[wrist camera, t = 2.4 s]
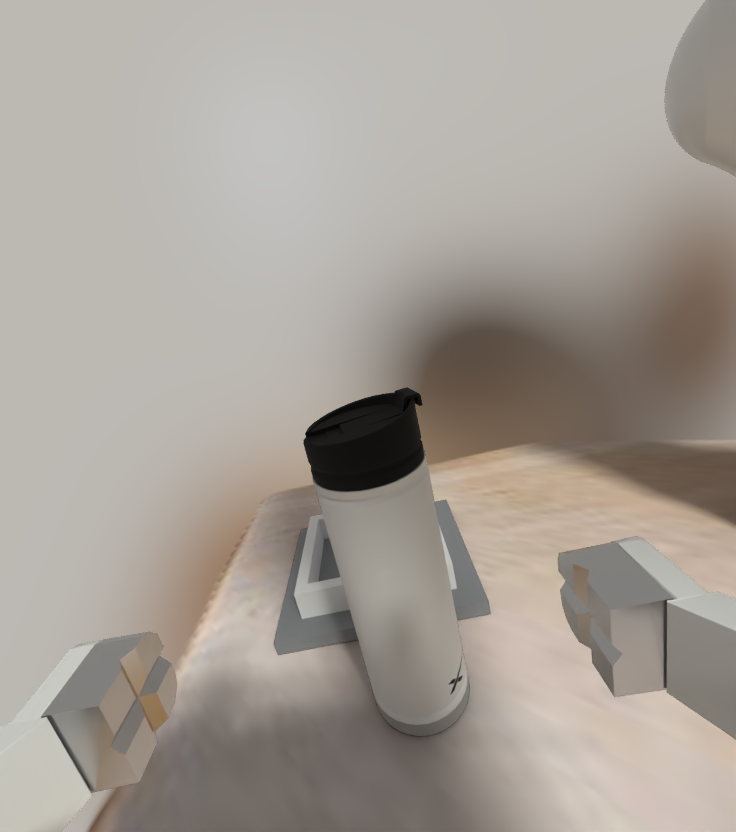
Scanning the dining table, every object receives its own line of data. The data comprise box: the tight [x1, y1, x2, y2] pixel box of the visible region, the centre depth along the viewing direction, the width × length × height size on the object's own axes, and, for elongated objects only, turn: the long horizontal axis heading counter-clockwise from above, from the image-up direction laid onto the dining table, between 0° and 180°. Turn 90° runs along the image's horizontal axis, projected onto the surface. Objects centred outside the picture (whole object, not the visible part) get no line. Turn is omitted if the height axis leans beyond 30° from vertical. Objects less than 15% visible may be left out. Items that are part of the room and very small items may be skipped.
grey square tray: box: [274, 500, 491, 655], centre depth 39 cm, size 17×16×4 cm
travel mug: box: [304, 388, 470, 736], centre depth 24 cm, size 6×7×20 cm
